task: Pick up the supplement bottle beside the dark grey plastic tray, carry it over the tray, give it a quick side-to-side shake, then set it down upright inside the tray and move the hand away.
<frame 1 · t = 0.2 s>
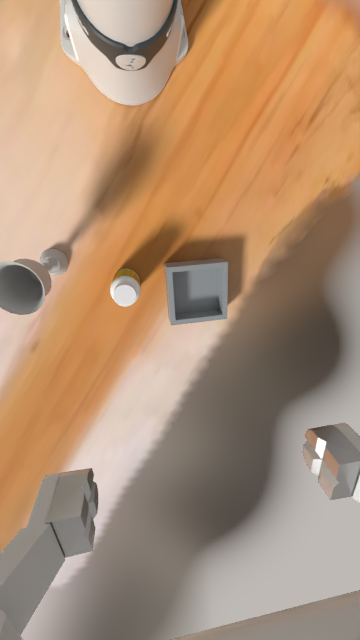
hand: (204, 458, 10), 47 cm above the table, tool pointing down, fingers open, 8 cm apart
tray: (194, 288, 57), on the table
supplement bottle: (126, 280, 54), on the table
chalice: (54, 262, 51), on the table
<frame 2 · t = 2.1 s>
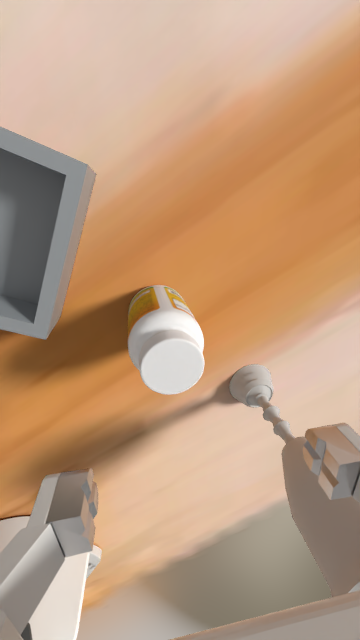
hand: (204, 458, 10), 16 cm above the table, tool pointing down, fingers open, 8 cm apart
supplement bottle: (157, 311, 25), on the table
chalice: (249, 382, 30), on the table
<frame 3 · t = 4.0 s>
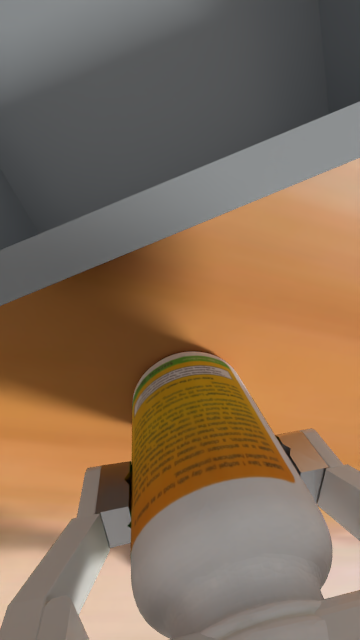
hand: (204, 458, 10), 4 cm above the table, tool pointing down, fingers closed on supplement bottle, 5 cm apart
supplement bottle: (186, 392, 13), on the table, touching gripper
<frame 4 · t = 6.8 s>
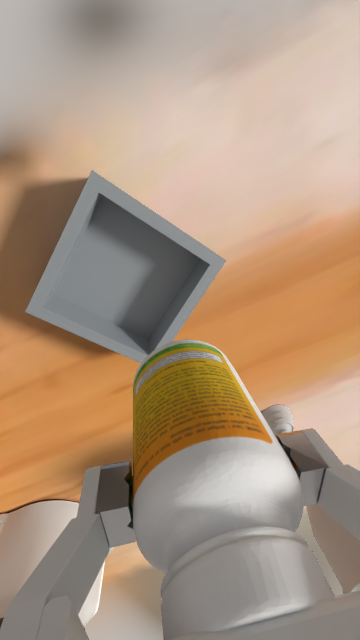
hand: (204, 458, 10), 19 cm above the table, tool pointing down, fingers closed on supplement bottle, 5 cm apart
tray: (128, 273, 26), on the table
supplement bottle: (182, 378, 15), point 14 cm above the table, touching gripper
chalice: (273, 418, 37), on the table
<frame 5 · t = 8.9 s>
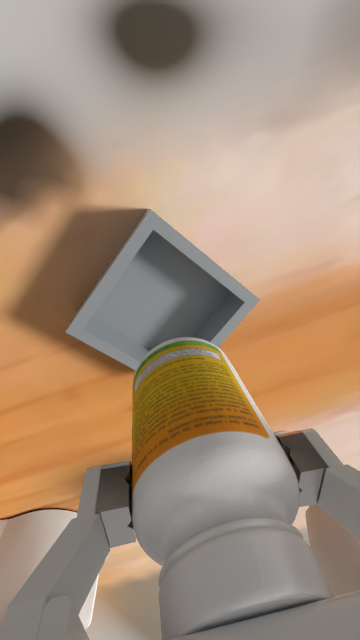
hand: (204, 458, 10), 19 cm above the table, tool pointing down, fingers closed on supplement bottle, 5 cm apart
tray: (161, 298, 27), on the table
supplement bottle: (181, 375, 15), point 13 cm above the table, touching gripper
chalice: (276, 443, 38), on the table
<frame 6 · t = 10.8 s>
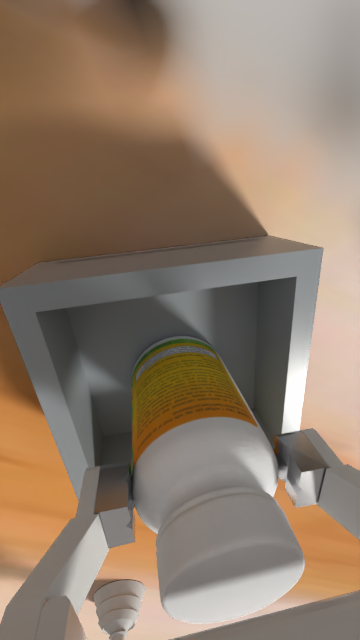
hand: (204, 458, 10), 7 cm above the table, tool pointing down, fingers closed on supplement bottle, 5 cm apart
tray: (171, 348, 16), on the table
supplement bottle: (176, 371, 16), point 1 cm above the table, touching gripper, tray
chalice: (119, 591, 27), on the table
when the fingers open (6 cm above the table, at t = 11.6 s): supplement bottle stays where it is, resting on tray.
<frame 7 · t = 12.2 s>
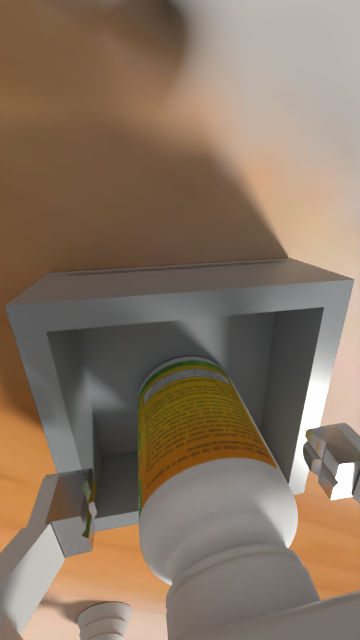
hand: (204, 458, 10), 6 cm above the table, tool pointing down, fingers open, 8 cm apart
tray: (179, 367, 15), on the table
supplement bottle: (184, 392, 15), point 1 cm above the table, touching tray
chalice: (105, 613, 25), on the table
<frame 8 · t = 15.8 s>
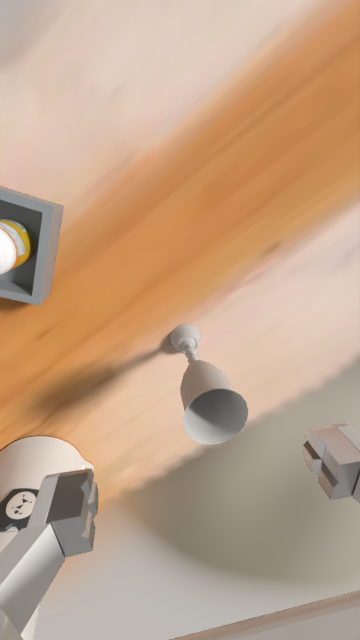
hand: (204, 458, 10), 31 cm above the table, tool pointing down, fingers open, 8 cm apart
tray: (6, 239, 34), on the table
supplement bottle: (14, 241, 33), point 1 cm above the table, touching tray
chalice: (185, 337, 43), on the table
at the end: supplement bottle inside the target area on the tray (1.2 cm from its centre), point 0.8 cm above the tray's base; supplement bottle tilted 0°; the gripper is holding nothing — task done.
